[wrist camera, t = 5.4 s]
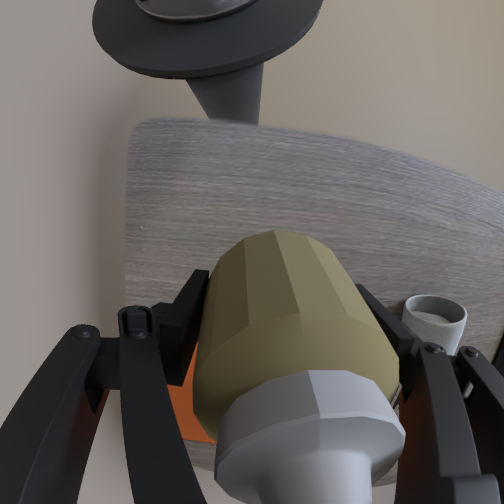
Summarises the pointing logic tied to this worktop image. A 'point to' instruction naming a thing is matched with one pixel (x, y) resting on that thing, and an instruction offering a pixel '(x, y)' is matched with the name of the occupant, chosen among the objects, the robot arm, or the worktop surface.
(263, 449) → the squeeze bottle
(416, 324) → the ceramic mug
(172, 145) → the worktop surface
